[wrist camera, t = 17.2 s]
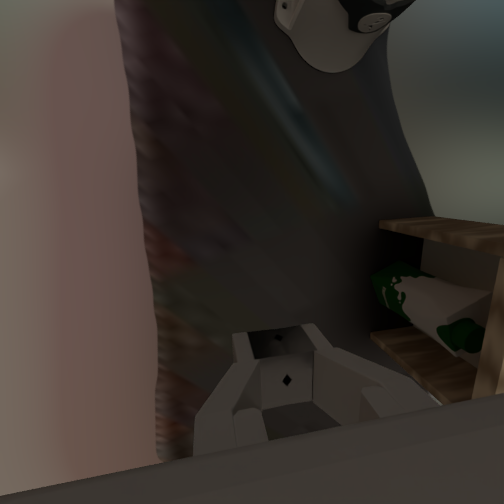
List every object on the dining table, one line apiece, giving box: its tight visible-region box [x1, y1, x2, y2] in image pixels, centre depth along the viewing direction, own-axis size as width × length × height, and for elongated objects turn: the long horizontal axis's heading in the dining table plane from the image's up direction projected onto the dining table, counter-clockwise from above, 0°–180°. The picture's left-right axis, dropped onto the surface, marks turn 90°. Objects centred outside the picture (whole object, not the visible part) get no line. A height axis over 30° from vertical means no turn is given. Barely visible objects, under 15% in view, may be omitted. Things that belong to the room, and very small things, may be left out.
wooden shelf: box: [370, 216, 504, 405], centre depth 41 cm, size 26×18×28 cm
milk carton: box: [370, 260, 493, 357], centre depth 44 cm, size 9×9×20 cm
